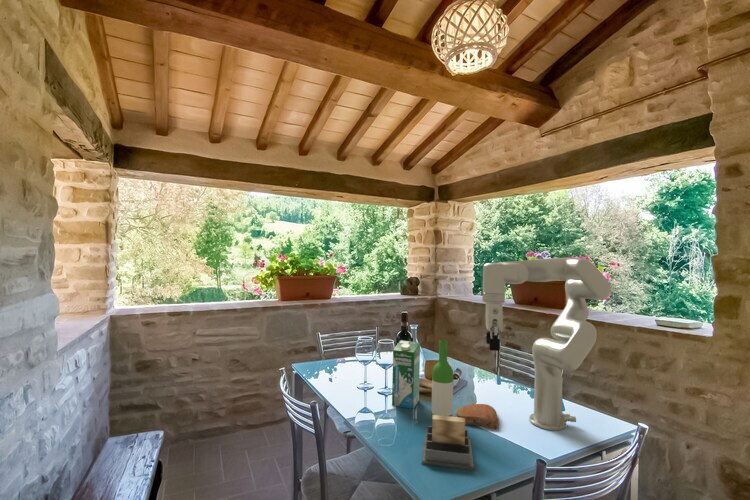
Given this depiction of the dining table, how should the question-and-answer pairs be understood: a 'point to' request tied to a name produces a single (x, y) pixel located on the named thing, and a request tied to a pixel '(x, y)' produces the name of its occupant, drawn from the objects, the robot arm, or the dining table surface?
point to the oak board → (448, 429)
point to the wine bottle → (442, 384)
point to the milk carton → (406, 374)
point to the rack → (447, 453)
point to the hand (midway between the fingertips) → (492, 346)
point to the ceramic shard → (479, 415)
